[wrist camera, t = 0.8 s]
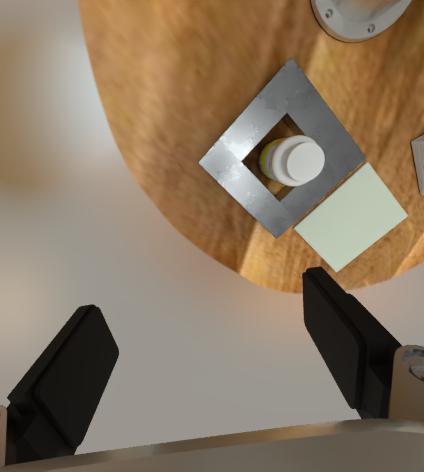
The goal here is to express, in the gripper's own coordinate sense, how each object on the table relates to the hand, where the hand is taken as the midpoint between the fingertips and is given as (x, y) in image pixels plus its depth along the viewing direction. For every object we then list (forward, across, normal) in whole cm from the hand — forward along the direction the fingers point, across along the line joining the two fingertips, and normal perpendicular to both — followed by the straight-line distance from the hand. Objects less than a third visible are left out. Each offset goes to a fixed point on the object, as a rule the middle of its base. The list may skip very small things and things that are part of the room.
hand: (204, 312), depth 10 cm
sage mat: (+26, -22, +8) cm, 35 cm away
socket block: (+26, -11, -3) cm, 28 cm away
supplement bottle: (+26, -11, -3) cm, 29 cm away
